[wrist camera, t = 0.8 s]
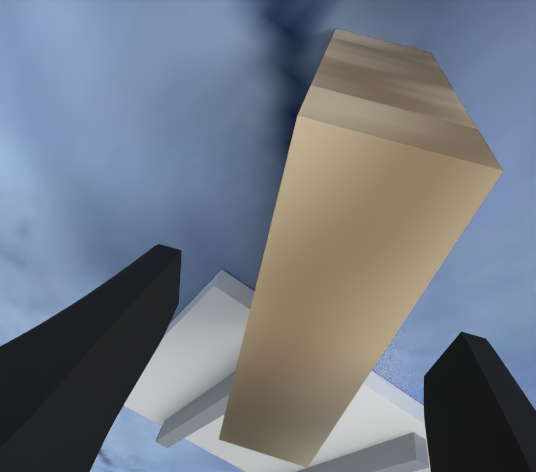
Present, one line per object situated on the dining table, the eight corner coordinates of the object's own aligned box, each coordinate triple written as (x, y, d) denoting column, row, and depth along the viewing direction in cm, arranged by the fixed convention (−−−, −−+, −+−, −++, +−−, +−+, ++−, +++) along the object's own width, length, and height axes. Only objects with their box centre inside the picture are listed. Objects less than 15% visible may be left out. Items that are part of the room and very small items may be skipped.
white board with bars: (488, 449, 23) (500, 499, 21) (318, 494, 33) (315, 532, 30) (221, 269, 19) (203, 309, 17) (114, 380, 28) (93, 415, 26)
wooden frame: (430, 52, 12) (503, 171, 5) (328, 292, 18) (307, 467, 12) (335, 28, 12) (297, 114, 5) (269, 275, 19) (218, 439, 12)
